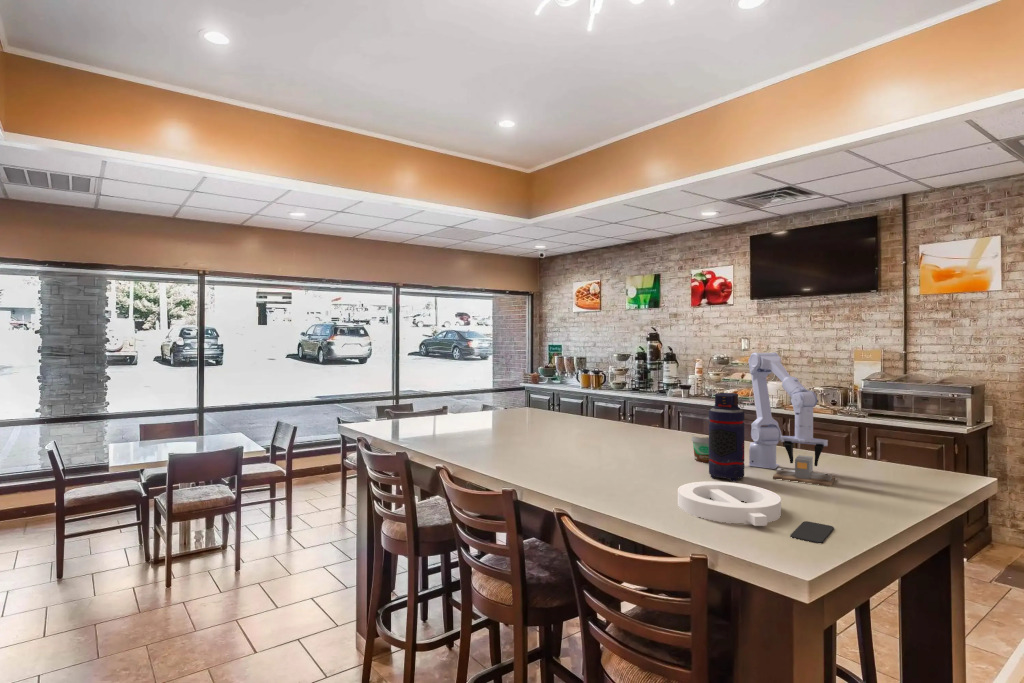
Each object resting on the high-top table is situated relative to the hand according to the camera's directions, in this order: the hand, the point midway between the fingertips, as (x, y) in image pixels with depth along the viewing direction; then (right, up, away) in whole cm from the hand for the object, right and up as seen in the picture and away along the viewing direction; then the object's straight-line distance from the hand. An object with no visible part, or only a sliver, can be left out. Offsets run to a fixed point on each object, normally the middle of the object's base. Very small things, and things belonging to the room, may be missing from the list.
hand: (803, 464), depth 200 cm
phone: (-26, -6, -55) cm, 61 cm away
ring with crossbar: (-40, -6, -34) cm, 53 cm away
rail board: (0, -5, 0) cm, 5 cm away
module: (0, -4, 0) cm, 4 cm away
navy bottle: (-26, -6, +3) cm, 26 cm away
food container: (-24, -5, +28) cm, 37 cm away
